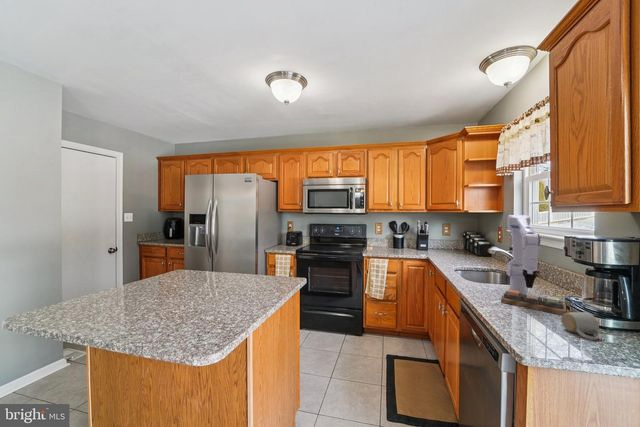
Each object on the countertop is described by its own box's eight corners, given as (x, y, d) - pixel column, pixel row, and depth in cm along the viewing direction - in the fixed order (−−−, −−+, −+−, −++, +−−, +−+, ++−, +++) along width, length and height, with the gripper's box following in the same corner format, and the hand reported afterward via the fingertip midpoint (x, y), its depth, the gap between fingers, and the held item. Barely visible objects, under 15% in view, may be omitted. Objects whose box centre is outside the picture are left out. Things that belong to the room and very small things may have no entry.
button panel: (501, 302, 135) (501, 294, 135) (504, 296, 144) (504, 289, 144) (565, 315, 119) (566, 306, 119) (565, 308, 128) (565, 300, 128)
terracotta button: (507, 295, 136) (508, 291, 136) (509, 293, 139) (509, 289, 139) (518, 297, 133) (518, 293, 133) (519, 295, 137) (519, 291, 137)
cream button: (526, 299, 131) (526, 294, 131) (527, 297, 135) (527, 292, 134) (538, 301, 128) (538, 296, 128) (538, 299, 132) (538, 294, 132)
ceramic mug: (559, 327, 107) (560, 308, 107) (581, 328, 106) (583, 309, 106) (581, 340, 97) (583, 319, 97) (607, 342, 96) (608, 321, 96)
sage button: (546, 303, 126) (546, 298, 126) (546, 300, 130) (546, 296, 130) (559, 305, 123) (559, 300, 123) (558, 303, 127) (559, 298, 127)
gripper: (520, 255, 140) (519, 281, 140) (519, 259, 128) (518, 287, 128) (537, 257, 135) (536, 284, 136) (538, 261, 124) (537, 290, 124)
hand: (529, 286), depth 132 cm, fingers open, 7 cm apart
